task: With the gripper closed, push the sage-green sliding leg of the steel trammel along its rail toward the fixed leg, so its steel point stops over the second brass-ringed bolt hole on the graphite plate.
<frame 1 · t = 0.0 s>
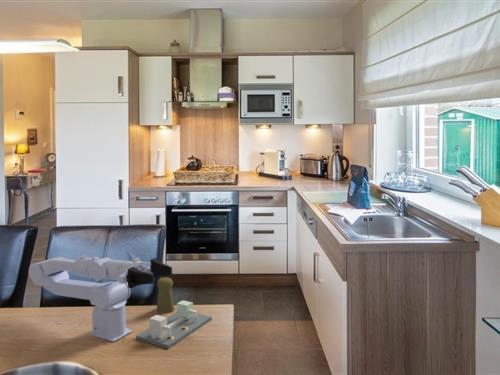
hand: (162, 274, 124), 22 cm above the table, tool horizontal, fingers open, 7 cm apart
sliding leg: (188, 310, 144), point 4 cm above the table, slide at 6.0 cm
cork: (165, 310, 155), on the table
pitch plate: (175, 328, 140), on the table
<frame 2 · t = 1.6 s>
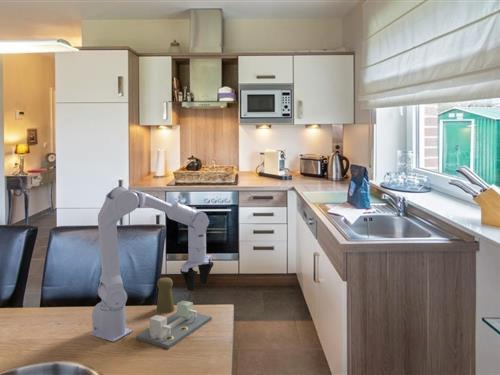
hand: (197, 286, 150), 9 cm above the table, tool pointing down, fingers open, 7 cm apart
nothing on the table moved.
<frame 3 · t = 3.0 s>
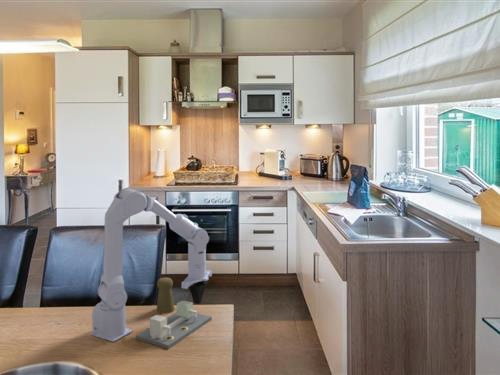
hand: (197, 302, 151), 4 cm above the table, tool pointing down, fingers closed
nothing on the table moved.
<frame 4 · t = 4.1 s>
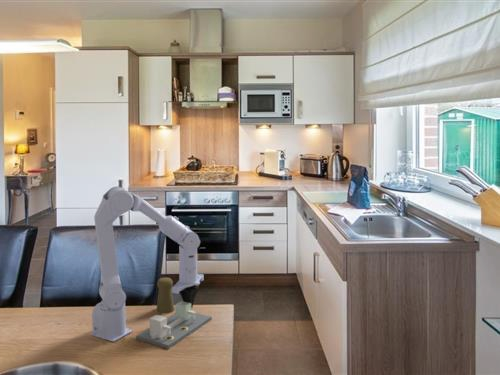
hand: (188, 308, 147), 4 cm above the table, tool pointing down, fingers closed
sliding leg: (186, 311, 143), point 4 cm above the table, slide at 5.2 cm, touching gripper
everything else where it was.
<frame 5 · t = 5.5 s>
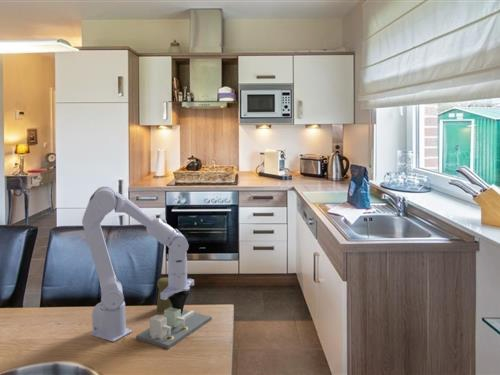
hand: (178, 314, 142), 4 cm above the table, tool pointing down, fingers closed
sliding leg: (175, 318, 139), point 4 cm above the table, slide at -0.3 cm, touching gripper
everything else where it was.
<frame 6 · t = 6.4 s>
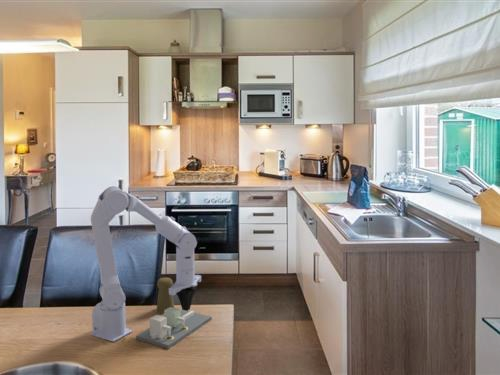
hand: (185, 309, 145), 4 cm above the table, tool pointing down, fingers closed
sliding leg: (175, 318, 139), point 4 cm above the table, slide at -0.3 cm
everything else where it was.
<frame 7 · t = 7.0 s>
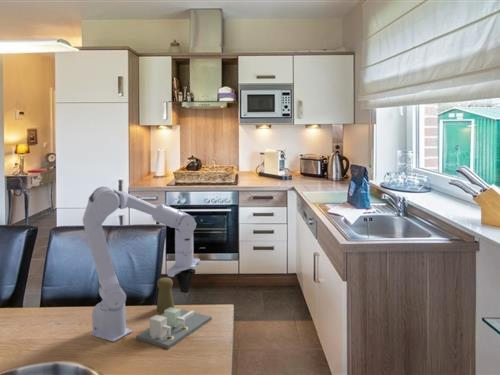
hand: (184, 292, 145), 9 cm above the table, tool pointing down, fingers closed
nothing on the table moved.
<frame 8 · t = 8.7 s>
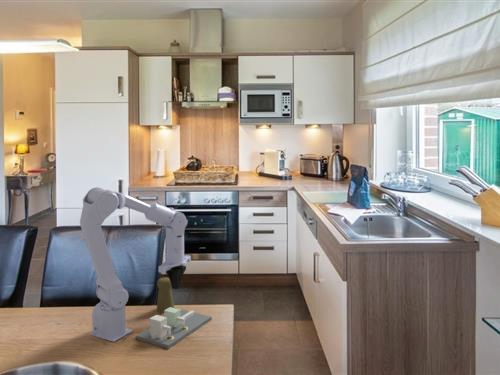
hand: (175, 288, 149), 9 cm above the table, tool pointing down, fingers closed
nothing on the table moved.
at the end: sliding leg slide at -0.3 cm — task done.
